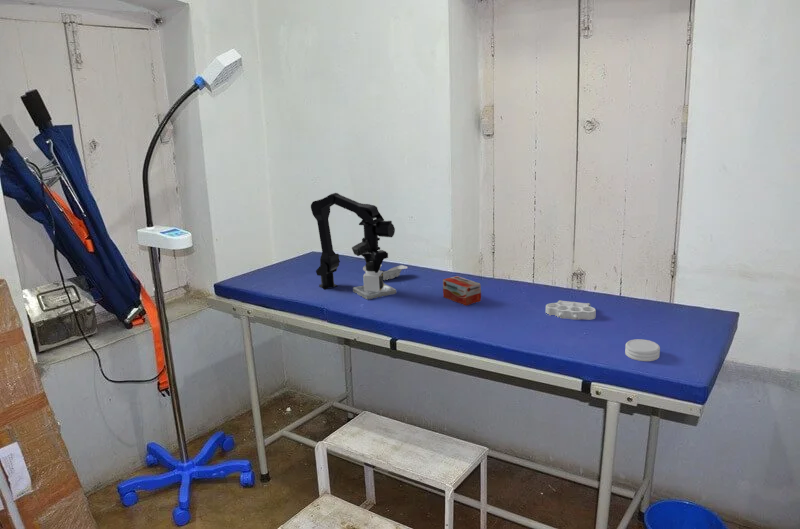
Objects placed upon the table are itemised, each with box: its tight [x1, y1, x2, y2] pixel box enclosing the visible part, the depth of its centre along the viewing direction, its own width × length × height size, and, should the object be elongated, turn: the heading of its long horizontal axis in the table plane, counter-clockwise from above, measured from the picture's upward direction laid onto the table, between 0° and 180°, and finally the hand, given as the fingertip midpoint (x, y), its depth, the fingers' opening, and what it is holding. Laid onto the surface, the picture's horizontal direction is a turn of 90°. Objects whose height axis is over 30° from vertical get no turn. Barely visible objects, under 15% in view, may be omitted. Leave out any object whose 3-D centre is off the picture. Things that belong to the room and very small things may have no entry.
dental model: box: [362, 263, 408, 281], centre depth 278 cm, size 23×17×5 cm
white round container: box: [624, 338, 661, 362], centre depth 183 cm, size 10×10×4 cm
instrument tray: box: [352, 283, 397, 301], centre depth 256 cm, size 14×14×2 cm
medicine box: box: [442, 275, 482, 307], centre depth 241 cm, size 15×8×8 cm, turn 36°
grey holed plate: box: [545, 299, 597, 321], centre depth 220 cm, size 3×18×15 cm
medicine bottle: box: [362, 261, 385, 291], centre depth 254 cm, size 7×7×12 cm
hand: (373, 271), depth 254 cm, fingers closed on medicine bottle, 6 cm apart
